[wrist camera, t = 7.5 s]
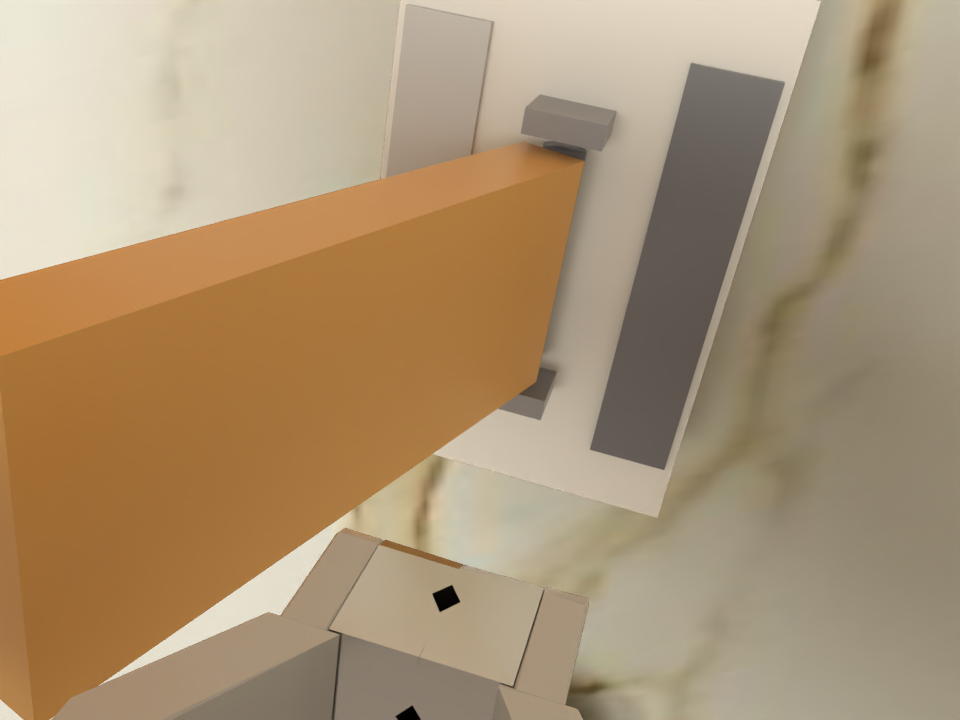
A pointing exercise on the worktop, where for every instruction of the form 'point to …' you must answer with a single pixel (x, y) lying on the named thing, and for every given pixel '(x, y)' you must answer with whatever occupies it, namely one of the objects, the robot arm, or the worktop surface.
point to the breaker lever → (250, 394)
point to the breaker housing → (609, 202)
